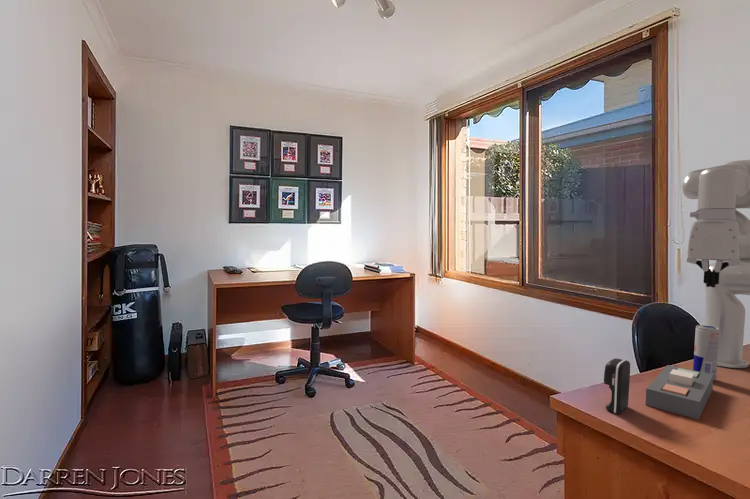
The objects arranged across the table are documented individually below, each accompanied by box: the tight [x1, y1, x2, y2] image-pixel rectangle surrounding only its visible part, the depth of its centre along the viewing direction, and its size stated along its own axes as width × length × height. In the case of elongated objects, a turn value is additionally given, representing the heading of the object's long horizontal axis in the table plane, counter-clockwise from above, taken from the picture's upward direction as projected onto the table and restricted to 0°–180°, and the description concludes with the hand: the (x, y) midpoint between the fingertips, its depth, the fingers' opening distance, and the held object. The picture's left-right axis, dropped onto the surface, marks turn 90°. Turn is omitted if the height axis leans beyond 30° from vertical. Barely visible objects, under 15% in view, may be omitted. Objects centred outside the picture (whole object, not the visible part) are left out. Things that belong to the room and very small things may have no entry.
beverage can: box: [692, 324, 719, 381], centre depth 114 cm, size 5×5×15 cm
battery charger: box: [603, 358, 631, 415], centre depth 95 cm, size 7×4×11 cm, turn 132°
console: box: [645, 364, 714, 421], centre depth 102 cm, size 24×10×4 cm, turn 135°
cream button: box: [669, 369, 694, 387], centre depth 102 cm, size 4×4×3 cm
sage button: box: [677, 367, 699, 378], centre depth 108 cm, size 4×4×3 cm
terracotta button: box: [662, 384, 689, 396], centre depth 96 cm, size 4×4×3 cm
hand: (710, 286), depth 107 cm, fingers closed
